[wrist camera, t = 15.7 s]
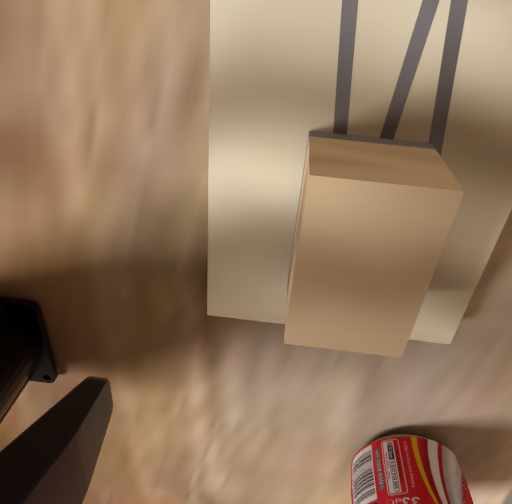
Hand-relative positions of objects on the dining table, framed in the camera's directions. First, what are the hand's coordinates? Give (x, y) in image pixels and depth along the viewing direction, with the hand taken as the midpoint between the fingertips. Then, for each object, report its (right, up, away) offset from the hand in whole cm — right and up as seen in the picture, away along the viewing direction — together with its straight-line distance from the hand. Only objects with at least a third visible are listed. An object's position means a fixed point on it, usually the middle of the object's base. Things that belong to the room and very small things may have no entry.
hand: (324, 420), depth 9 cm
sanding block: (+3, +5, +9) cm, 11 cm away
